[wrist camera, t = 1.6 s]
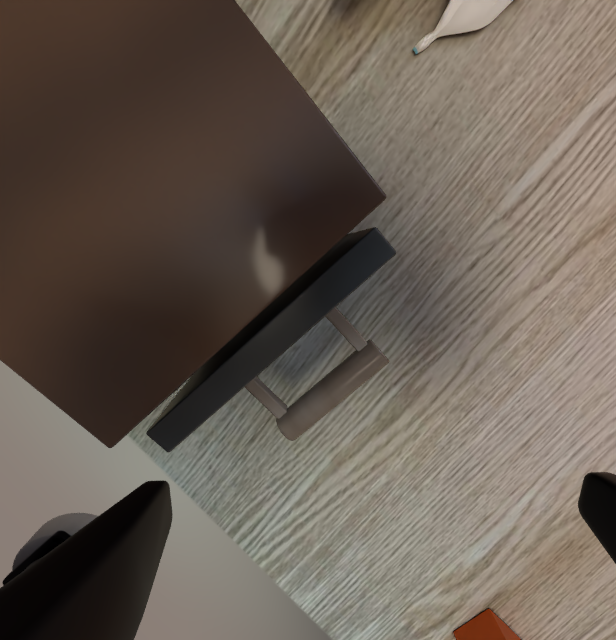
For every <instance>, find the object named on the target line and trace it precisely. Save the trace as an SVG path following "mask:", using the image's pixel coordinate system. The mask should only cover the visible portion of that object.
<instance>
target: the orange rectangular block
mask: <svg viewBox="0 0 616 640" xmlns="http://www.w3.org/2000/svg"><path fill="white" fill-rule="evenodd" d="M453 633H454V635H455V638H456V640H521V639H520V638H519V637H518V636H517V635H516V634H515V633H514V632H513V631H512V630H511V629H510V628H509V627H508V626H507V625H506V624H505V623H504V622H503V621H502V620H501V619H500V618H499V617H497V616H496V615H495V614H494V613H493V612H492V611H491V610H490V609H487V610H486V611H484V612H482V613H481V614H479V615H478V616H476V617H475V618H473V619H472V620H470V621H469V622H467V623H466V624H464V625H463V626H461V627H460V628H458V629H457V630H455V631H454V632H453Z"/></svg>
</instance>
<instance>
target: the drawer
mask: <svg viewBox="0 0 616 640" xmlns="http://www.w3.org/2000/svg"><path fill="white" fill-rule="evenodd" d="M395 254H396V251H395V250H394V248H393V247H392V246H391V245H390V243H389V242H388V241H387V240H386V238H385V237H384V236H383V235H382V233H381V232H380V231H379V230H378V228H376V227H373V228H370V229H366V230H362V231H358V232H354V233H350V234H347V235H346V236H344V237H343V238H342V239H341V240H340V241H339V242H338V243H337V244H336V245H335V246H333V247H332V248H331V249H330V250H329V251H328V252H327V253H326V254H325V255H324V256H322V257H321V258H320V259H319V260H318V261H317V262H316V263H315V264H314V265H313V266H311V267H310V268H309V269H308V270H307V271H306V272H305V273H304V274H303V275H302V276H300V277H299V278H298V279H297V280H296V281H295V282H294V283H293V284H292V285H291V286H289V287H288V288H287V289H286V290H285V291H284V292H283V293H282V294H281V295H280V296H278V297H277V298H276V299H275V300H274V301H273V302H272V303H271V304H270V305H269V306H267V307H266V308H265V309H264V310H263V311H262V312H261V313H260V314H259V315H258V316H257V317H255V318H254V319H253V320H252V321H251V322H250V323H249V324H248V325H247V326H246V327H244V328H243V329H242V330H241V331H240V332H239V333H238V334H237V335H236V336H235V337H233V338H232V339H231V340H230V341H229V342H228V343H227V344H226V345H225V346H224V347H222V348H221V349H220V350H219V351H218V352H217V353H216V354H215V355H214V356H213V357H211V358H210V359H209V360H208V361H207V362H206V363H205V364H204V365H203V366H202V367H200V368H199V369H198V370H197V371H196V372H195V373H194V374H193V376H192V377H191V378H190V379H189V380H188V382H187V383H186V384H185V385H184V387H183V388H182V389H181V390H180V392H179V393H178V394H177V395H176V396H175V398H174V399H173V400H172V401H171V403H170V404H169V405H168V406H167V408H166V409H165V410H164V411H163V412H162V414H161V415H160V416H159V417H158V419H157V420H156V421H155V422H154V424H153V425H152V426H151V427H150V428H149V430H148V431H147V433H146V434H147V435H148V436H149V437H150V438H151V439H153V440H154V441H155V442H156V443H157V444H158V445H160V446H161V447H162V448H163V449H164V450H166V451H167V452H170V451H172V450H173V449H174V448H175V447H176V446H177V445H179V444H180V443H181V442H182V441H183V440H184V439H185V438H187V437H188V436H189V435H190V434H191V433H192V432H193V431H195V430H196V429H197V428H198V427H199V426H200V425H201V424H203V423H204V422H205V421H206V420H207V419H208V418H209V417H211V416H212V415H213V414H214V413H215V412H216V411H217V410H219V409H220V408H221V407H222V406H223V405H224V404H225V403H227V402H228V401H229V400H230V399H231V398H232V397H233V396H235V395H236V394H237V393H238V392H239V391H240V390H241V389H243V388H244V387H245V388H246V389H247V390H248V391H249V392H250V393H252V394H253V395H254V396H255V397H256V398H257V399H258V400H259V401H260V402H261V403H262V404H263V405H264V406H265V407H266V408H267V409H268V410H269V411H270V412H271V413H272V414H273V415H274V416H275V417H277V418H276V422H277V425H278V428H279V429H280V431H281V432H282V434H283V435H284V436H285V437H286V438H287V439H289V440H291V441H294V440H296V439H297V438H298V437H299V436H300V435H302V434H303V433H304V432H305V431H307V430H308V429H309V428H310V427H311V426H313V425H314V424H315V423H316V422H317V421H319V420H320V419H321V418H322V417H324V416H325V415H326V414H327V413H328V412H330V411H331V410H332V409H333V408H334V407H336V406H337V405H338V404H339V403H341V402H342V401H343V400H344V399H345V398H347V397H348V396H349V395H350V394H351V393H353V392H354V391H355V390H356V389H358V388H359V387H360V386H361V385H362V384H364V383H365V382H366V381H367V380H368V379H370V378H371V377H372V376H373V375H375V374H376V373H377V372H378V371H379V370H381V369H382V368H383V367H384V366H385V365H387V364H388V363H389V360H388V359H387V357H386V356H385V355H384V354H383V353H382V352H381V350H380V349H379V348H378V347H377V346H376V345H375V344H374V343H373V341H372V340H370V339H369V340H368V341H366V340H365V339H364V338H363V337H362V336H361V335H360V333H359V332H358V331H357V330H356V329H355V328H354V327H353V326H352V325H351V323H350V322H349V321H348V320H347V319H346V318H345V317H344V316H343V314H342V313H341V312H340V311H339V310H338V309H337V308H336V306H337V305H338V304H339V303H341V302H342V301H343V300H344V299H345V298H346V297H347V296H349V295H350V294H351V293H352V292H353V291H354V290H355V289H357V288H358V287H359V286H360V285H361V284H362V283H363V282H365V281H366V280H367V279H368V278H369V277H370V276H371V275H373V274H374V273H375V272H376V271H377V270H378V269H379V268H381V267H382V266H383V265H384V264H385V263H386V262H387V261H389V260H390V259H391V258H392V257H393V256H394V255H395ZM325 316H326V317H327V318H328V320H329V321H330V322H331V323H332V324H333V325H334V326H335V327H336V328H337V329H338V331H339V332H340V333H341V334H342V335H343V336H344V337H345V338H346V339H347V340H348V342H349V343H350V344H351V345H352V346H353V347H354V348H355V349H356V351H355V352H353V353H352V354H351V355H350V356H349V357H347V358H346V359H345V360H344V361H343V362H342V363H340V364H339V365H338V366H337V367H336V368H334V369H333V370H332V371H331V372H330V373H329V374H327V375H326V376H325V377H324V378H323V379H321V380H320V381H319V382H318V383H317V384H315V385H314V386H313V387H312V388H311V389H310V390H308V391H307V392H306V393H305V394H304V395H302V396H301V397H300V398H299V399H298V400H297V401H295V402H294V403H293V404H292V405H291V406H289V407H288V408H287V405H286V404H285V403H283V402H282V401H281V400H280V399H279V398H278V397H277V396H276V395H275V394H274V393H273V392H272V391H271V390H270V389H269V388H268V387H267V386H266V385H265V384H264V383H263V382H262V381H261V380H260V379H259V378H258V377H257V375H258V374H260V373H261V372H262V371H263V370H264V369H265V368H266V367H268V366H269V365H270V364H271V363H272V362H273V361H274V360H276V359H277V358H278V357H279V356H280V355H281V354H282V353H284V352H285V351H286V350H287V349H288V348H289V347H290V346H292V345H293V344H294V343H295V342H296V341H297V340H298V339H300V338H301V337H302V336H303V335H304V334H305V333H306V332H308V331H309V330H310V329H311V328H312V327H313V326H314V325H316V324H317V323H318V322H319V321H320V320H321V319H322V318H324V317H325Z"/></svg>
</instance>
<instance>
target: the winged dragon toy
mask: <svg viewBox="0 0 616 640" xmlns="http://www.w3.org/2000/svg"><path fill="white" fill-rule="evenodd" d="M512 1H513V0H450V1H449V3H448V5H447V7H446V9H445V11H444V13H443V15H442V17H441V19H440V21H439V23H438V25H437V26H436V28H435V30H434V31H433V33H432V34H431V33H430V34H428V35H427V34H426V35H427V36H426V35H425V36H424V37H423V38H422V39H421V40H420V41H419V42H418V43H417V44H416V46H415V47H414V48H413V50H414V51H415V54H417V53H419V52H421V51H423V50H425V49H426V48H427V47H428V46H429V45H430V44H431V43H432V42H433V41H434V40H435V39H436V38H437V37H440V36H445V35H451V34H458V33H464V32H469V31H474V30H478V29H480V28H483V27H485V26H486V25H488V24H490V23H491V22H492V21H493V20H494V19H495V18H496V17H497V16H498V15H499V14H500V13H501V12H502V11H503V10H504V9H505V8H506V7H507V6H508V5H509V4H510V3H511V2H512Z"/></svg>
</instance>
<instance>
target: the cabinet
mask: <svg viewBox="0 0 616 640" xmlns="http://www.w3.org/2000/svg"><path fill="white" fill-rule="evenodd" d="M385 199H386V194H385V193H384V192H383V191H382V189H381V188H380V187H379V185H378V184H377V183H376V182H375V180H374V179H373V178H372V176H371V175H370V174H369V173H368V171H367V170H366V169H365V167H364V166H363V165H362V164H361V162H360V161H359V160H358V158H357V157H356V156H355V155H354V153H353V152H352V151H351V149H350V148H349V147H348V146H347V144H346V143H345V142H344V140H343V139H342V138H341V137H340V135H339V134H338V133H337V131H336V130H335V129H334V128H333V126H332V125H331V124H330V122H329V121H328V120H327V119H326V117H325V116H324V115H323V113H322V112H321V111H320V109H319V108H318V107H317V106H316V104H315V103H314V102H313V100H312V99H311V98H310V97H309V95H308V94H307V93H306V91H305V90H304V89H303V88H302V86H301V85H300V84H299V82H298V81H297V80H296V79H295V77H294V76H293V75H292V73H291V72H290V71H289V70H288V68H287V67H286V66H285V64H284V63H283V62H282V61H281V59H280V58H279V57H278V55H277V54H276V53H275V52H274V50H273V49H272V48H271V46H270V45H269V44H268V43H267V41H266V40H265V39H264V37H263V36H262V35H261V34H260V32H259V31H258V30H257V28H256V27H255V26H254V25H253V23H252V22H251V21H250V19H249V18H248V17H247V16H246V14H245V13H244V12H243V10H242V9H241V8H240V7H239V5H238V4H237V3H236V1H235V0H0V360H1V361H2V362H3V363H5V364H6V365H7V366H8V367H10V368H11V369H12V370H13V371H14V372H16V373H17V374H18V375H19V376H21V377H22V378H23V379H24V380H26V381H27V382H28V383H29V384H31V385H32V386H33V387H34V388H35V389H37V390H38V391H39V392H40V393H42V394H43V395H44V396H45V397H47V398H48V399H49V400H50V401H52V402H53V403H54V404H55V405H56V406H58V407H59V408H60V409H61V410H63V411H64V412H65V413H66V414H68V415H69V416H70V417H71V418H72V419H74V420H75V421H76V422H77V423H79V424H80V425H81V426H82V427H84V428H85V429H86V430H87V431H89V432H90V433H91V434H92V435H94V436H95V437H96V438H97V439H98V440H100V441H101V442H102V443H103V444H105V445H106V446H107V447H108V448H112V447H113V446H114V445H116V444H117V443H118V442H119V441H120V440H121V439H122V438H123V437H125V436H126V435H127V434H128V433H129V432H130V431H131V430H132V429H133V428H134V427H136V426H137V425H138V424H139V423H140V422H141V421H142V420H143V419H144V418H145V417H147V416H148V415H149V414H150V413H151V412H152V411H153V410H154V409H155V408H156V407H158V406H159V405H160V404H161V403H162V402H163V401H164V400H165V399H166V398H167V397H169V396H170V395H171V394H172V393H173V392H174V391H175V390H176V389H177V388H178V387H180V386H181V385H182V384H183V383H184V382H185V381H186V380H187V379H188V378H189V377H191V376H192V375H193V374H194V373H195V372H196V371H197V370H198V369H199V368H200V367H202V366H203V365H204V364H205V363H206V362H207V361H208V360H209V359H210V358H211V357H213V356H214V355H215V354H216V353H217V352H218V351H219V350H220V349H221V348H222V347H224V346H225V345H226V344H227V343H228V342H229V341H230V340H231V339H232V338H233V337H235V336H236V335H237V334H238V333H239V332H240V331H241V330H242V329H243V328H244V327H246V326H247V325H248V324H249V323H250V322H251V321H252V320H253V319H254V318H255V317H257V316H258V315H259V314H260V313H261V312H262V311H263V310H264V309H265V308H266V307H267V306H269V305H270V304H271V303H272V302H273V301H274V300H275V299H276V298H277V297H278V296H280V295H281V294H282V293H283V292H284V291H285V290H286V289H287V288H288V287H289V286H291V285H292V284H293V283H294V282H295V281H296V280H297V279H298V278H299V277H300V276H302V275H303V274H304V273H305V272H306V271H307V270H308V269H309V268H310V267H311V266H313V265H314V264H315V263H316V262H317V261H318V260H319V259H320V258H321V257H322V256H324V255H325V254H326V253H327V252H328V251H329V250H330V249H331V248H332V247H333V246H335V245H336V244H337V243H338V242H339V241H340V240H341V239H342V238H343V237H344V236H346V235H347V234H348V233H349V232H350V231H351V230H352V229H353V228H354V227H355V226H357V225H358V224H359V223H360V222H361V221H362V220H363V219H364V218H365V217H366V216H368V215H369V214H370V213H371V212H372V211H373V210H374V209H375V208H376V207H377V206H379V205H380V204H381V203H382V202H383V201H384V200H385Z"/></svg>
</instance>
